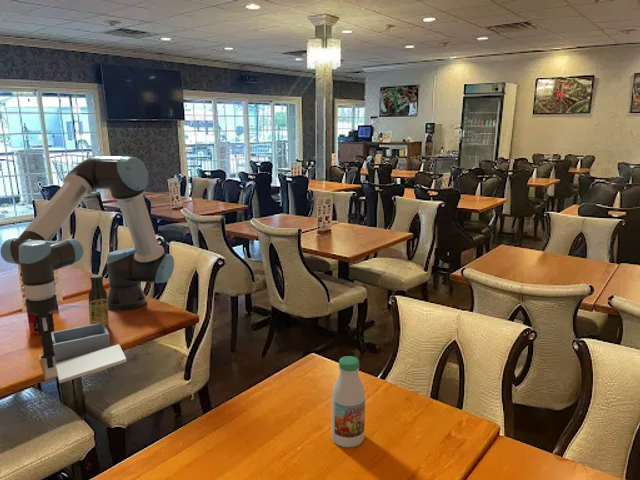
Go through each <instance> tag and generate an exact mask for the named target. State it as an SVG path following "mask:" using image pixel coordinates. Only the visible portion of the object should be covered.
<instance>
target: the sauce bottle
mask: <svg viewBox="0 0 640 480" xmlns="http://www.w3.org/2000/svg"><path fill="white" fill-rule="evenodd" d="M89 279H90V282H91V283H90V284H91V288H90V290H89V293H88V314H89V315H88V316H89V325H92V324H97V323H102V322H104V324H105V326H106V328H107V329H108V327H109V322H110V321H109V308H108V301H107V296H108V293H107V290H106V289H105V288H104V281H103V280H104V276H103V274H94V275H93V274H92V275H91V276H90V278H89Z"/></svg>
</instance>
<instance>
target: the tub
mask: <svg viewBox="0 0 640 480" xmlns="http://www.w3.org/2000/svg"><path fill="white" fill-rule="evenodd" d="M51 335H52V341H54V342H55V344H53V350H54V353H55V363H58V362H62V361H65V360H68V359H71V358H75V357H78V356H81V355H85V354H88V353H91V352H95V351H98V350H101V349H104V348H108V347H111V340H110V333H109V331H108V328H106V326H105V324H104V322H102V323H97V324H92V325H90V324H88V325H82V326H77V327H73V328H72V327H71V328H67V329H62V330H56V331H52V332H51Z"/></svg>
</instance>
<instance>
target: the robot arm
mask: <svg viewBox="0 0 640 480" xmlns="http://www.w3.org/2000/svg"><path fill="white" fill-rule="evenodd" d="M148 178H149V173H148V169H147V167H146V165H145V163H144V162H143V161H142V160H141V159H140V158H138V157H136V156H135V157H134V156H129V155H122V156H120V155H119V156H118V155H117V156H116V155H115V156H113V155H96V156H92V157H89V158H87V159H85V160H83V161H81V162H80V163H79V164H77V165H76V166H75V167H74V168H72V169H71V170H70V171H69V172H68V173H67V174H66V175H65V177H64V179H63V184H62V185H61V187H60V188H58V190H57V191H56V193H55V194H54V195H53V196H52V197H51V198H50V199H49V201H48V202H47V203H46V204H45V205H44V206H43V208H42V209H41V211H39V213H37V215H36V216H35V217H34V219H32V221H31V222H30V223H29V224H28V226H27V227H26V228H25V229H24V230H23V232H22V233H21V234H20V235H19V236H18V238H16V237H15V238H14V237H13V238H9V239H7V240H4V242H2V244H1V245H0V255H1V258H2V259H3V261H4V262H6V263H9V264H15V265H19V266H20V272H21V279H22V284H23V286H21V288H20V290H21V291H22V292H23V291H24V292H23V293H24V297H25V298H26V299H25V307H26V313H27V312H29V313H32V314H38V315H37V316H35V318H36V324H37V325H38V332H39V334H41V335H40V342H41V346H42V347H41V349H42V354H43V353H44V355H43V356H41V359H42V358H44V365H45V372H46V379H47V378H51V377H55V376H57V370H56V363H55V353H54V350H53V344H55V342H54V341H52V335H51V332H53V331H54V330H53V329H52V316H51V313H48V312H49V311H52V312H53V311H55V309H57V308H58V300H57V299H58V298H57V295H56V294H57V290H56V281H55V276H54V272H55V271H57V270H59V269H62V268H65V267H68V266H70V265H71V266H72V265H74V264H75V263H77V262H79V261H80V260H81V259H82V258H83V256H84V247H83V245H82V244H81V242H80V241H78V240H77V239H75V238H67V239H66V238H64V239H62V240H52V239H53V238H54V237H55V236H56V234H57V233H58V232H59V231H60V229H61V228H62V227H63V225H64V224H65V223H66V221H68V219H69V218H70V216H71V215H72V214H73V213H74V211H75V210H76V209H77V207H78V206H79V204H81V202H82V201H83V200H84V198H86V197H90V196H91V195H92V193H93V192H94V191H96V190H109V191H110V194H111V197H112V199H114V200H116V201H118V204H119V206H120V209H121V212H122V214H123V218H124V221H125V223H126V227H127V228H128V232H129V234H130V238H131V241H132V243H133V246H134V247H129V248H128V247H127V248H122V249H121V248H120V249H117V250H114V251H111V252H109V253H108V254H107V255H106V265H107V274H108V275H107V276H108V284H109V287H108V293H107V301H108V310H111V311H126V310H127V311H128V310H129V311H130V310H132V309H133V310H134V309H136V308H140V307H143V306H144V305H145V304H146V303H147V301H146V299H147V298H146V295H145V293H144V290H143V289H142V286H141V283H152V284H153V283H154V284H159V283H160V284H164V283H165V284H166V283H167V282H168V281H169V280H170V278H171V277H172V275H173V272H174V269H175V268H174V267H175V259H174V257H173V255H171V254H169V253H166V251H165V248H164V247H163V246H162V245H160V244H159V242H158V239H157V236H156V233H155V229H154V226H153V223H152V220H151V217H150V214H149V210H148V206H147V203H146V202H145V197H144V195H143V194H144V193H145V191H146V187H147V185H148V183H149V179H148ZM140 282H141V283H140ZM52 330H53V331H52Z"/></svg>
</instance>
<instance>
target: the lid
mask: <svg viewBox="0 0 640 480" xmlns="http://www.w3.org/2000/svg"><path fill="white" fill-rule="evenodd" d="M43 355H44V353H43V352H42V353H41V354H38V360H39V364H40V368H41V372H42V375H43V378H44V379H43V380H44V382H47V381H50V380H54V379H57V378H58V383H59V384H62V383H65V382H69V381H71V380H74V379H77V378H80V377H83V376H84V377H88V376H91V375H94V374H97V373H100V372H103V371H106V370H108V368H112V367H115V366H118V365H121V364H123V363H126V362H128V361H127V357H126V356H125V353H124V351H123V350H122V348H121V345H120V343H118V344H115V345H110V347H108V348H104V349H101V350H98V351H95V352H91V353H88V354H85V355H81V356H78V357H75V358H71V359H68V360H65V361H62V362H58V363H56V370H57V376H55V377H51V378H47V379H46V372H45V365H44V358H42V359H41V356H43Z"/></svg>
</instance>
